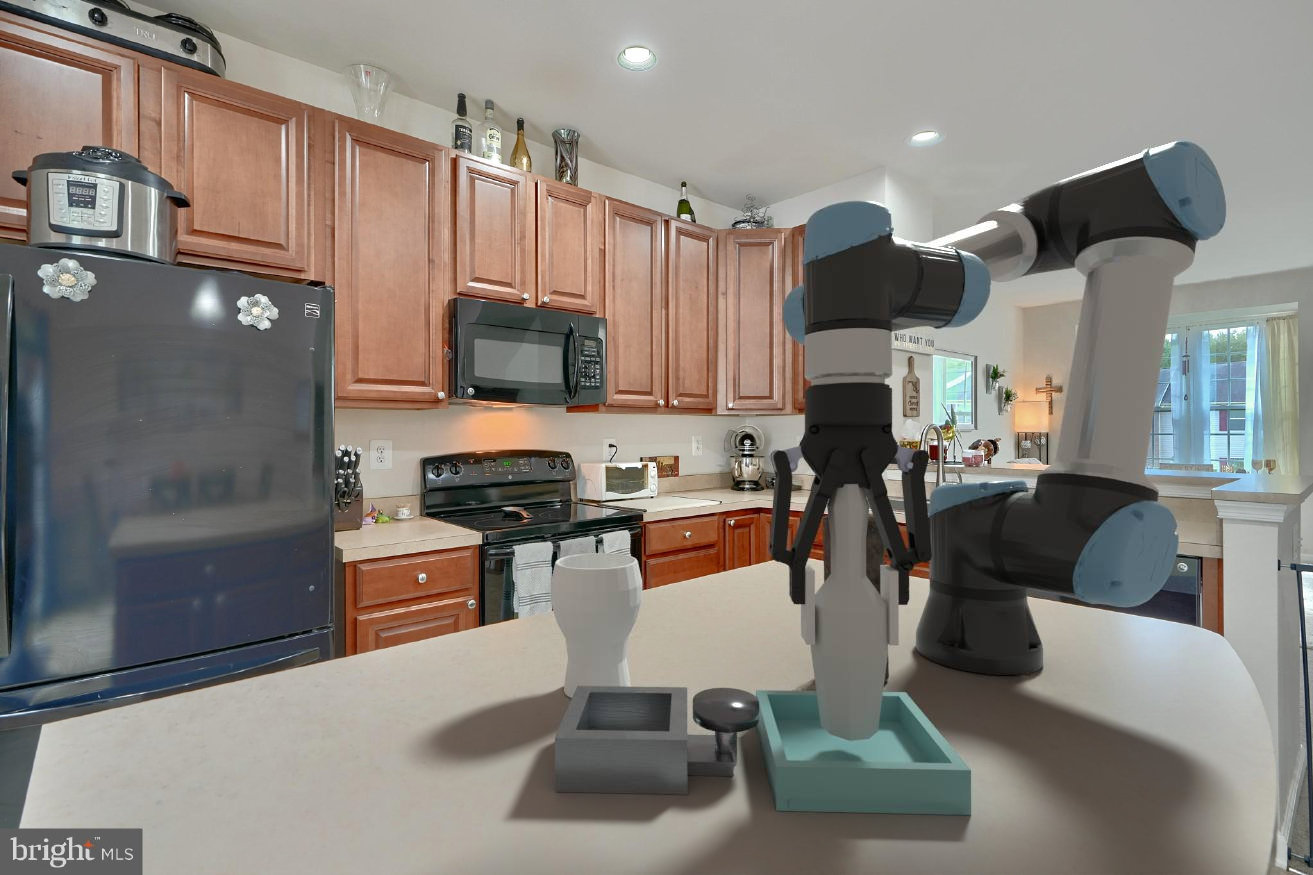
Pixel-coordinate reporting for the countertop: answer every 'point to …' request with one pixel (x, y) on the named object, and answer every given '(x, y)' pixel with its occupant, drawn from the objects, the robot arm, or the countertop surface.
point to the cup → (596, 616)
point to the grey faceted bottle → (849, 626)
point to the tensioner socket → (648, 738)
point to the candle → (873, 556)
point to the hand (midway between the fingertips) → (848, 639)
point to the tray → (859, 760)
